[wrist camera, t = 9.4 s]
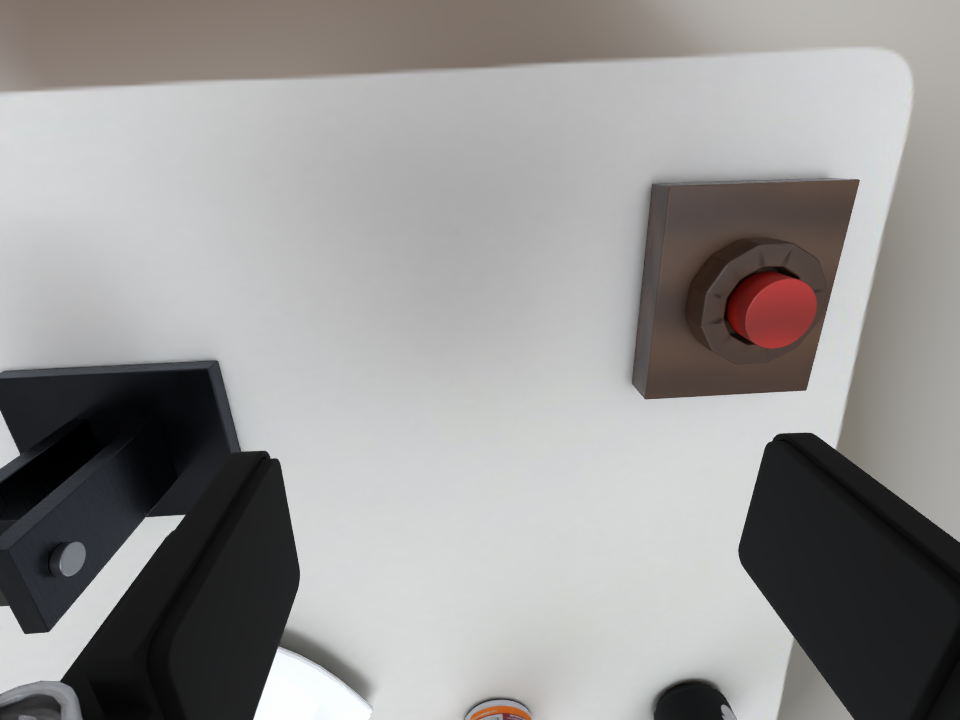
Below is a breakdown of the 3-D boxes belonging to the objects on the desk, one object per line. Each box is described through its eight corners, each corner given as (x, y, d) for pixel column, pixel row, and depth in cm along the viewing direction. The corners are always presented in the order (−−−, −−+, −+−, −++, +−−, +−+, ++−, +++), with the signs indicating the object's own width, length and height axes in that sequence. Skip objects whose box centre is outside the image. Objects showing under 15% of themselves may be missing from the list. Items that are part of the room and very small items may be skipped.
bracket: (3, 370, 28) (-280, 505, 17) (217, 360, 28) (77, 484, 18) (64, 511, 32) (-135, 695, 21) (253, 499, 32) (155, 671, 21)
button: (732, 272, 25) (752, 280, 23) (800, 269, 25) (825, 276, 23) (721, 338, 26) (739, 350, 25) (785, 335, 26) (808, 347, 25)
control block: (652, 183, 26) (685, 187, 23) (829, 177, 27) (890, 180, 23) (631, 384, 31) (657, 414, 27) (783, 375, 31) (828, 404, 28)
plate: (407, 682, 40) (405, 707, 38) (280, 798, 45) (273, 825, 43) (188, 578, 34) (173, 601, 33) (70, 724, 39) (52, 751, 37)
